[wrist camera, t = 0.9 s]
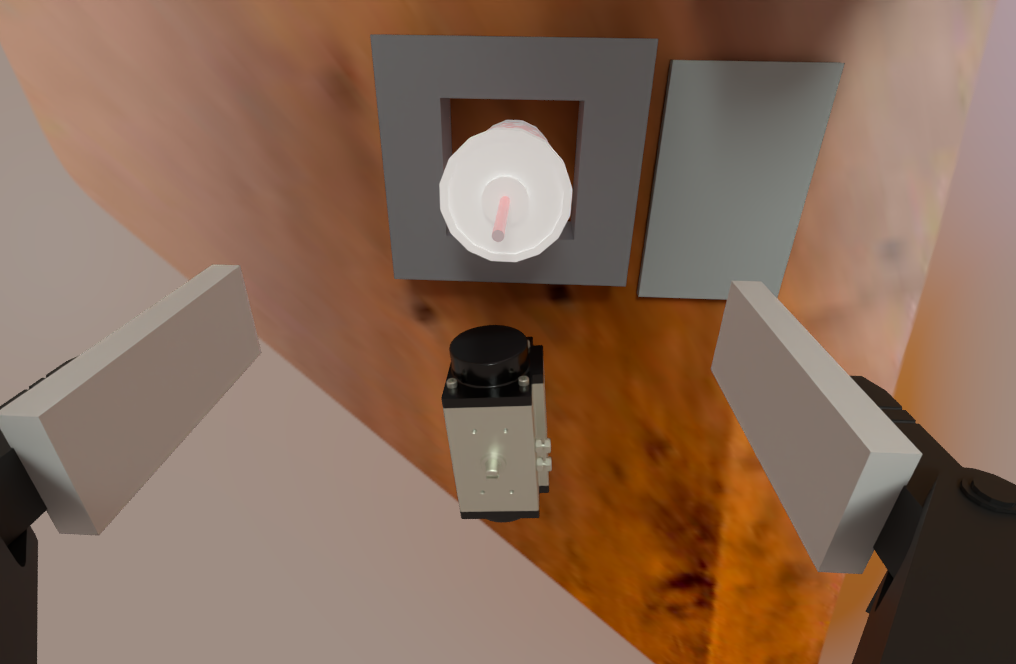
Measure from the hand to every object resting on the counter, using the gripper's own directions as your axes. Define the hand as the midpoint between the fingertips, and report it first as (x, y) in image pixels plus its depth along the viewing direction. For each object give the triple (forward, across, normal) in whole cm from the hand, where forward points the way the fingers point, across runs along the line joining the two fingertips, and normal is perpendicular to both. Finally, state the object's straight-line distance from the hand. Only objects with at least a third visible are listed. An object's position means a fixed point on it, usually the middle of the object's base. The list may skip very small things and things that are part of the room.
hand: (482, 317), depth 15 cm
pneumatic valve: (+20, 0, -14) cm, 25 cm away
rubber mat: (+20, +13, -1) cm, 24 cm away
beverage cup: (+20, 0, 0) cm, 20 cm away
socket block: (+20, 0, 0) cm, 20 cm away
